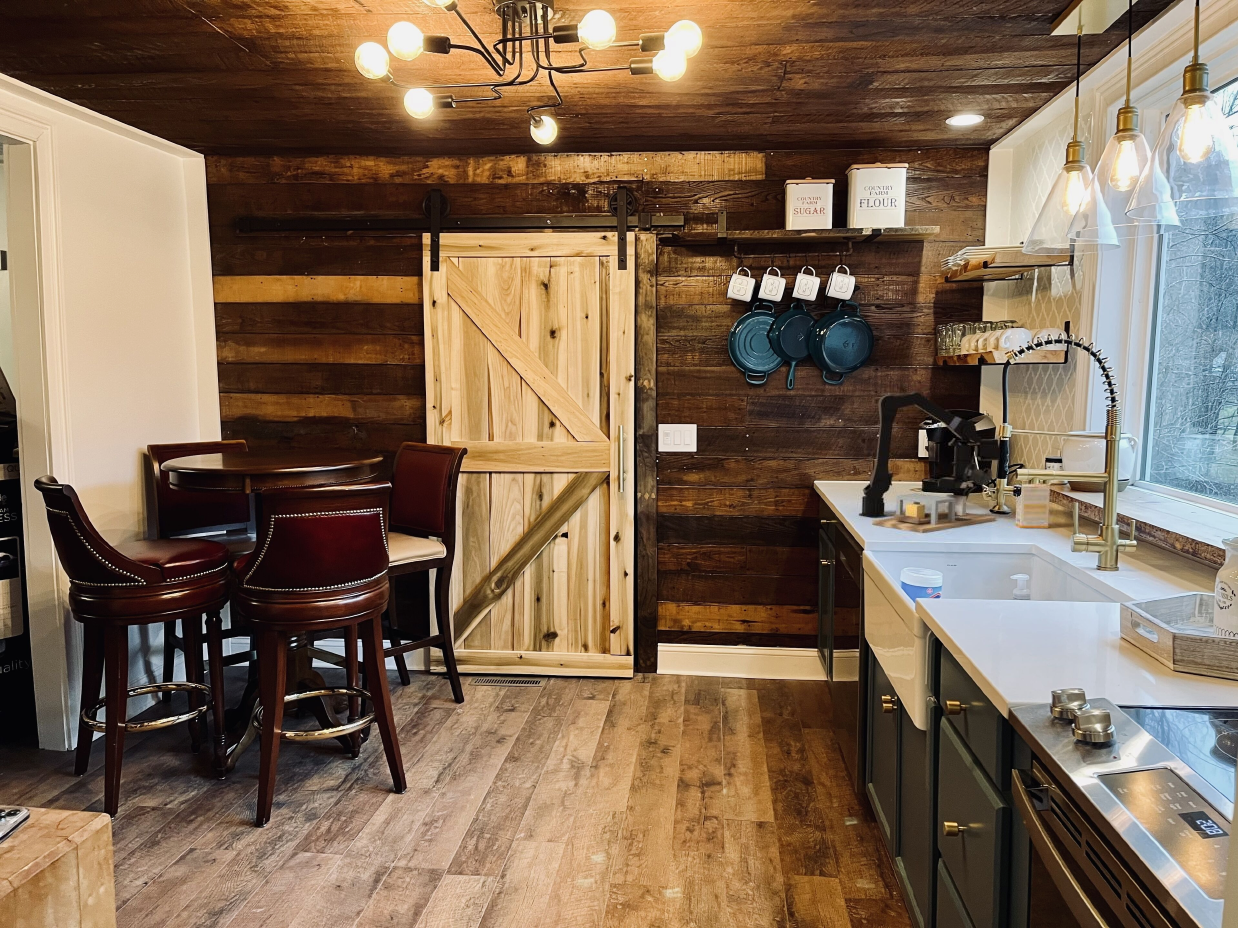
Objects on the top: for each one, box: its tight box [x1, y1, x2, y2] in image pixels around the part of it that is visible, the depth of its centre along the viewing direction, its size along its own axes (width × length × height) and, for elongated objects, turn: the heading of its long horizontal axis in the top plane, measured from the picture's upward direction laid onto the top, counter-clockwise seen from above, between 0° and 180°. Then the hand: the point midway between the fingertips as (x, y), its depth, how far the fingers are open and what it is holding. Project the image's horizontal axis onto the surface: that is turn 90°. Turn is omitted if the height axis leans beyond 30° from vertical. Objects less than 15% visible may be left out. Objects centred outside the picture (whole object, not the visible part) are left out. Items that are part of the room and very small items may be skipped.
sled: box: [892, 493, 967, 524], centre depth 271 cm, size 9×26×6 cm, turn 125°
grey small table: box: [895, 493, 955, 525], centre depth 269 cm, size 14×10×8 cm
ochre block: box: [905, 503, 926, 519], centre depth 266 cm, size 4×4×4 cm
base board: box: [871, 509, 997, 534], centre depth 272 cm, size 18×38×1 cm, turn 125°
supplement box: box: [1015, 483, 1051, 529], centre depth 264 cm, size 8×5×13 cm, turn 84°
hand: (961, 507), depth 280 cm, fingers closed
